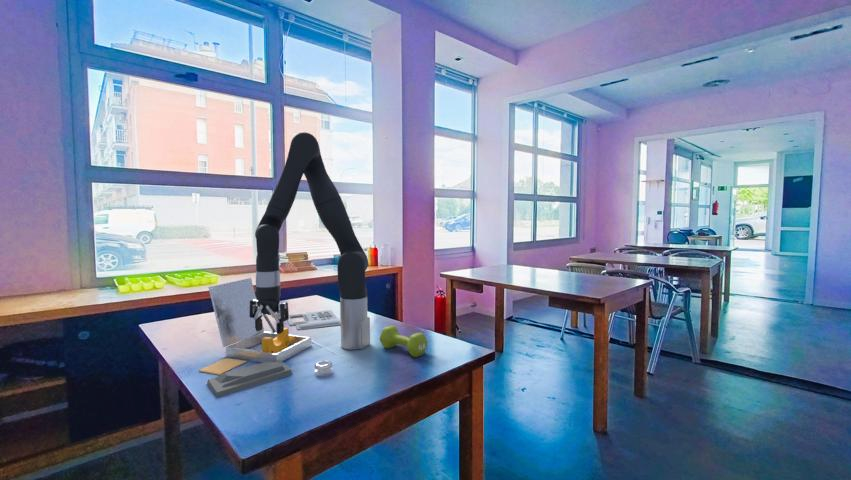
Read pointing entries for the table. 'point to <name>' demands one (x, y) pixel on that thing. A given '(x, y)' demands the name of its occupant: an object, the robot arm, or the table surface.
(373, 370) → the table surface
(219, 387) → the grey bevelled block
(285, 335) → the yellow curved stepped piece
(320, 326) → the office telephone
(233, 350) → the case
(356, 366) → the table surface
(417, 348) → the dumbbell
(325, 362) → the metal grooved wheel
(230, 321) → the lid
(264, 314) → the rod
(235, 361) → the tan rectangular plate
